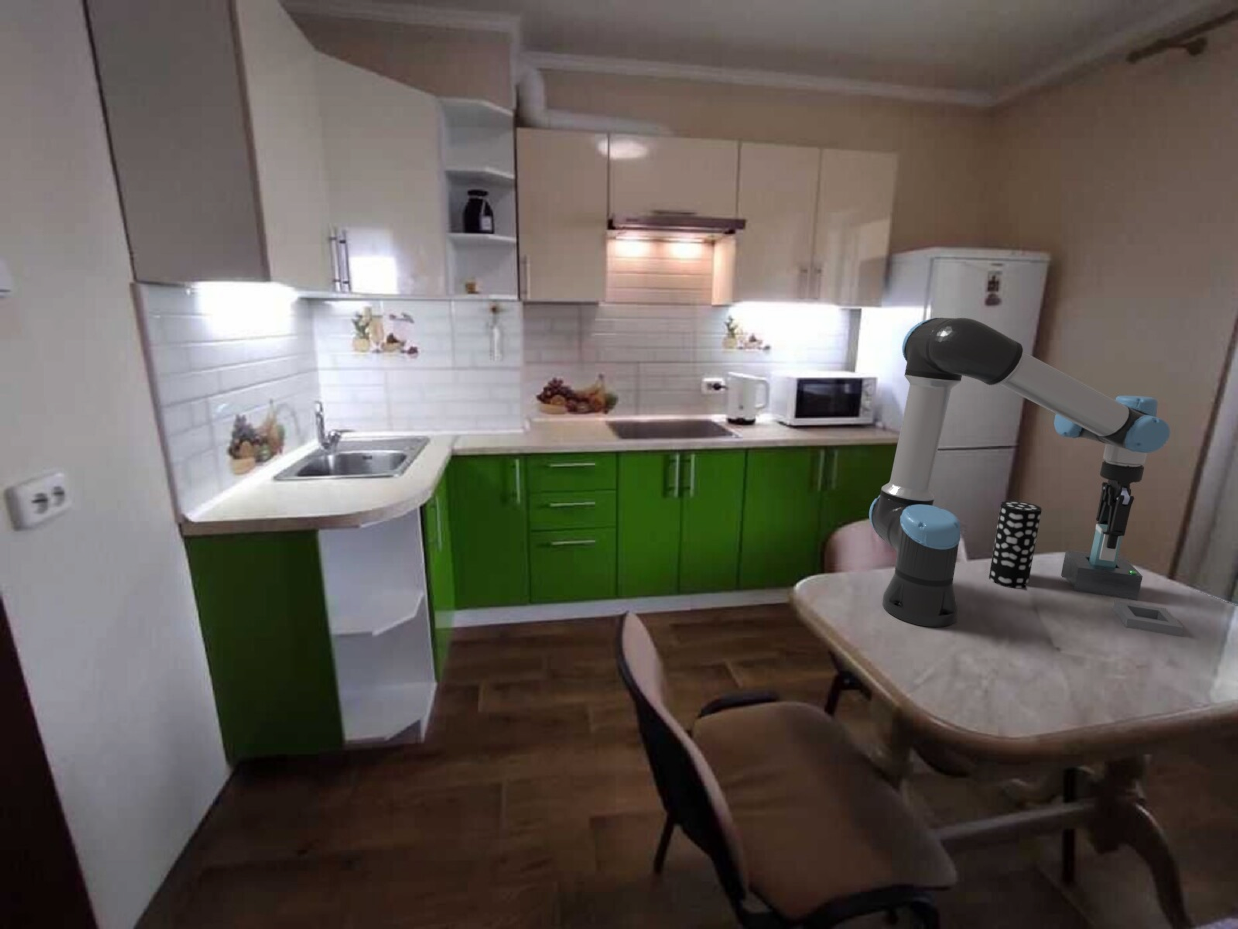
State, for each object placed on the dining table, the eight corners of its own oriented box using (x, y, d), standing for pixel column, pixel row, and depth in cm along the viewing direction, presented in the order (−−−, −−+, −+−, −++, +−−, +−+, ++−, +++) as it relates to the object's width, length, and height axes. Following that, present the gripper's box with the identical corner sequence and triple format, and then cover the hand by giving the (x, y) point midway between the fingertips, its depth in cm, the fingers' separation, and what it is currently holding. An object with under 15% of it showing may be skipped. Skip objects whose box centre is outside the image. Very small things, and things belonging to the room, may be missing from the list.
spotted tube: (1035, 588, 144) (1050, 511, 139) (1001, 588, 144) (1014, 511, 139) (1014, 574, 152) (1027, 500, 147) (981, 574, 152) (993, 500, 147)
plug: (1091, 575, 142) (1101, 529, 139) (1086, 569, 145) (1096, 523, 143) (1113, 579, 140) (1123, 531, 137) (1108, 572, 144) (1118, 526, 141)
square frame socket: (1125, 631, 124) (1128, 618, 123) (1111, 612, 132) (1114, 600, 131) (1180, 640, 120) (1183, 627, 120) (1162, 621, 128) (1165, 608, 128)
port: (1073, 594, 141) (1078, 565, 139) (1060, 575, 151) (1066, 548, 150) (1136, 604, 136) (1143, 574, 134) (1119, 583, 147) (1125, 556, 145)
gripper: (1158, 472, 127) (1135, 572, 133) (1130, 456, 142) (1111, 546, 148) (1115, 469, 130) (1094, 566, 136) (1092, 453, 145) (1075, 542, 151)
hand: (1103, 556), depth 142 cm, fingers closed on plug, 4 cm apart
